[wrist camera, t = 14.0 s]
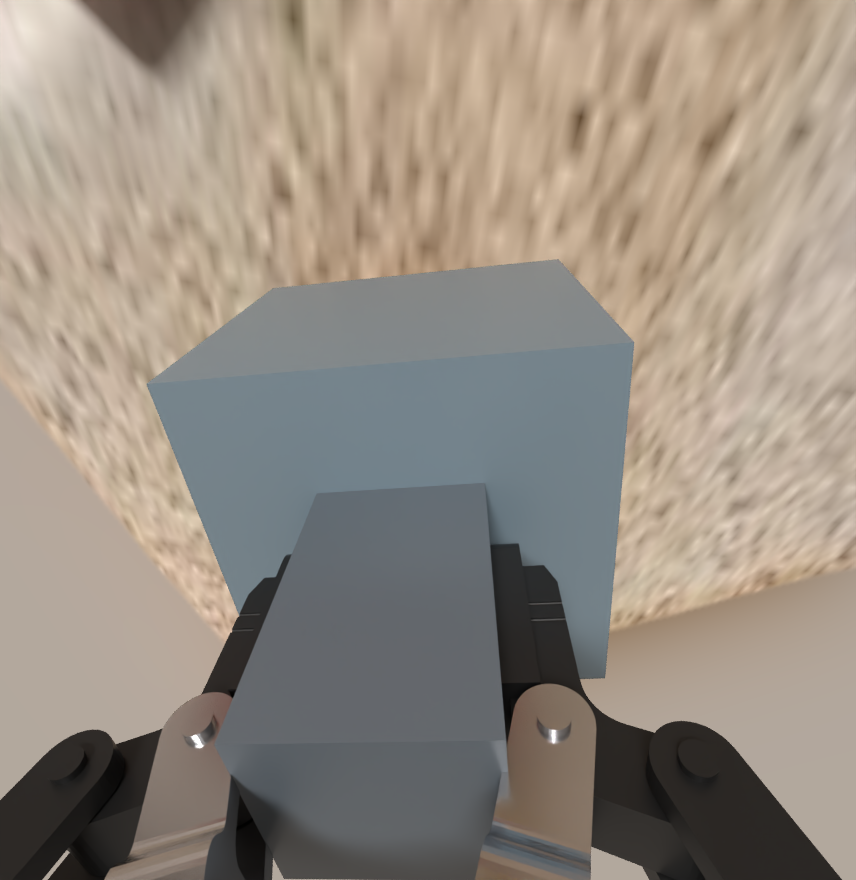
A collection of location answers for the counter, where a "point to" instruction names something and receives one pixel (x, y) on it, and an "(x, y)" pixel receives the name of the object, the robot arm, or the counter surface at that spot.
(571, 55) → the counter surface
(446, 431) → the grey block
